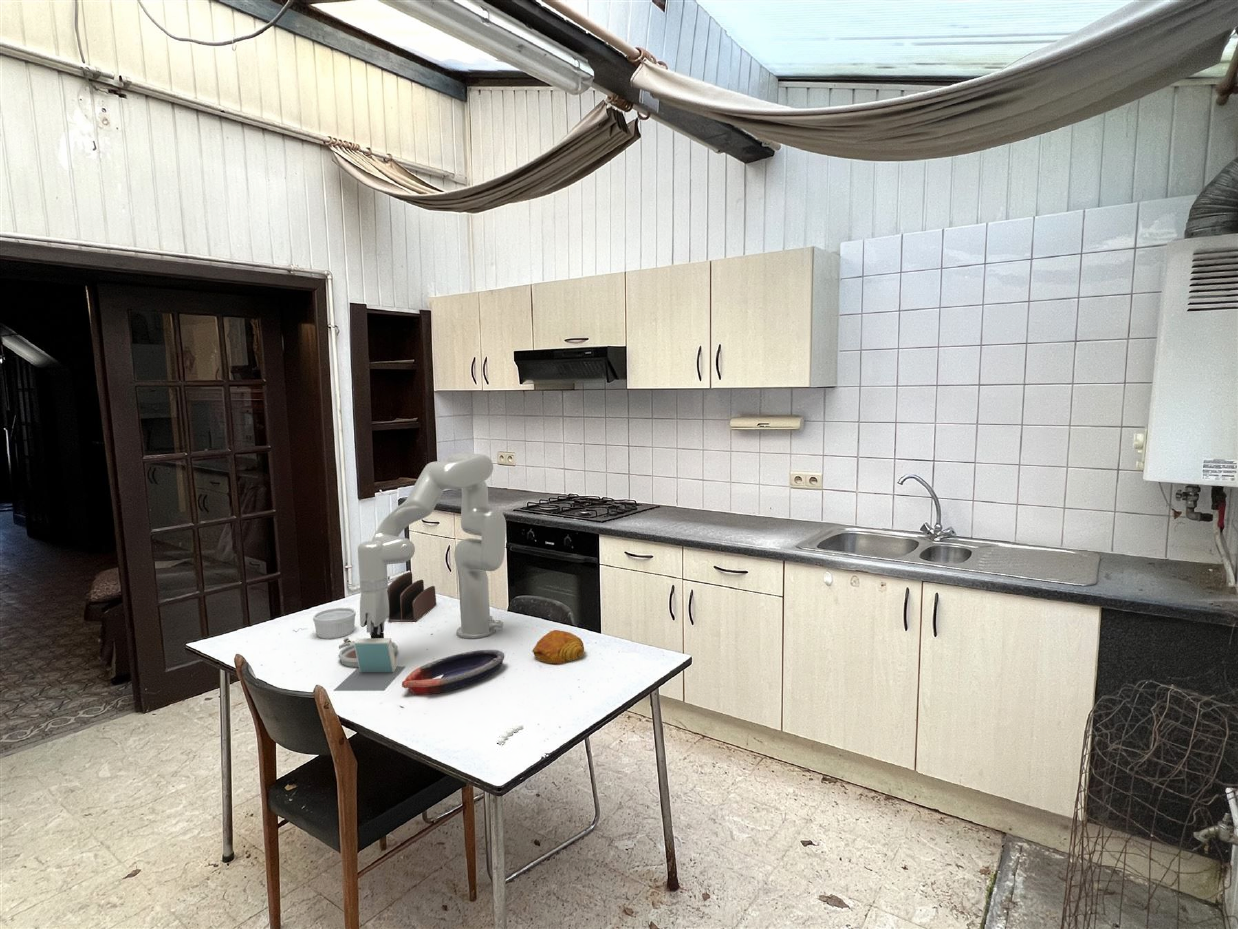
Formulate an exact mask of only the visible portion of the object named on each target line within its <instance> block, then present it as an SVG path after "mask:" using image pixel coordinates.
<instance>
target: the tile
mask: <svg viewBox="0 0 1238 929" xmlns="http://www.w3.org/2000/svg"><path fill="white" fill-rule="evenodd" d="M354 641H355V642H354V646H355V651H356V656H357V661H358V666H359V670H360V672H394V671H395V669H396V666H397V664H396V663H397V662H396V659H395V658H396V656H394V651H393V646H392V642H393V640H392V638H391V637H387V638H385V637H384V638H371V637H367V638H366V637H365V638H363V637H361V638H356V639H355V640H354Z"/></svg>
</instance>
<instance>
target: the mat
mask: <svg viewBox="0 0 1238 929" xmlns="http://www.w3.org/2000/svg"><path fill="white" fill-rule="evenodd" d="M405 668H407V666H405V665H402V666H399V665H398V666H397V665H396V669H395V671H394V672H360V670H359V667H356V669H355V670H353V672H352V673H351V674H349V675H348V676H347V677H346V678H345V679H344V680H343V681H342V682H340V684H339V685H338V686H336V687H335V688H334V689H333V690H332V691H333V692H336V691H337V692H342V691H343V692H345V691H346V692H347V691H348V692H349V691H350V692H351V691H352V692H355V691H356V692H368V691H369V692H372V691H373V692H375V691H376V692H377V691H380V692H382V691H383V692H384V691H385V690H386V689H387V688H388V687H389V686H390V685H391V683H392V682H393V681H394V680H395V679H396V678H397V677H398V676H399V675H400V674H401V673H402V671H403V670H405Z"/></svg>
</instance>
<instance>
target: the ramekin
mask: <svg viewBox="0 0 1238 929" xmlns="http://www.w3.org/2000/svg"><path fill="white" fill-rule="evenodd" d="M312 617H313V618H312V621H313V623H314V627H315V632H316V635H317V636H318V637H319V638H321V639H324V640H326V639H327V640H328V639H329V640H332V639H339V637H340V638H345V637H347V636H349V635H350V634H352V633H353V631H354V629H355V624H356V623H355V621H356V610H355V609H353V608H351V607H333V608H327V609H324V610H319V611H318V612H316V613H315V614H314V615H313V616H312Z"/></svg>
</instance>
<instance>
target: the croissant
mask: <svg viewBox="0 0 1238 929" xmlns="http://www.w3.org/2000/svg"><path fill="white" fill-rule="evenodd" d="M531 652H532V653H533V655H534V657H535V658H536V660H538V661H540V662H543V663H545V664H546V663H547V664H557V665H562V664H565V662H566V663H567V662H569V661H570V662H573V661H574V660H578V659H580V658H581V657H583V655H584V652H585V646H584V641H582V639H581V638H580V637H578V635H575V634H573V633H571V632H570V631H564V630H559V629H554V630H550V631H549V632H548V633H546V634H545V635H543V636H542V637H540V639H539V640H538V641H537V642H536V644H535V646H534V647H533V649H532V651H531Z"/></svg>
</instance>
